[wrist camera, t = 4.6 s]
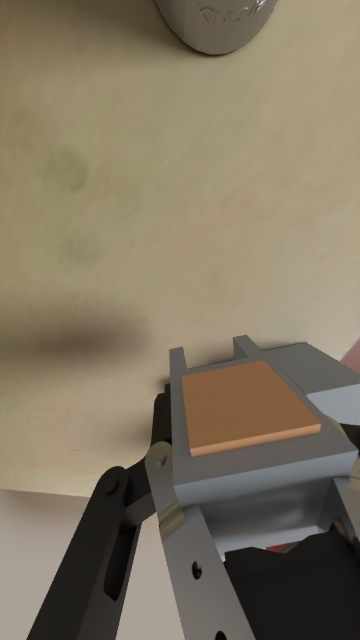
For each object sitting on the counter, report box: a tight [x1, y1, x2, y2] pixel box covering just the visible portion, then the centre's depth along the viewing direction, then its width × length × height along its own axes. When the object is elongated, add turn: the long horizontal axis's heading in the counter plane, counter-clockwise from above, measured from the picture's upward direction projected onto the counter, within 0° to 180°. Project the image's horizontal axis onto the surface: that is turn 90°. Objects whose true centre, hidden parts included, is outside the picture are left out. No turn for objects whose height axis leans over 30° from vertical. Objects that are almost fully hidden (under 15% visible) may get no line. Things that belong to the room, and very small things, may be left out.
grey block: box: [169, 335, 359, 556], centre depth 9 cm, size 5×6×7 cm
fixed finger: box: [263, 342, 360, 425], centre depth 18 cm, size 5×6×7 cm
